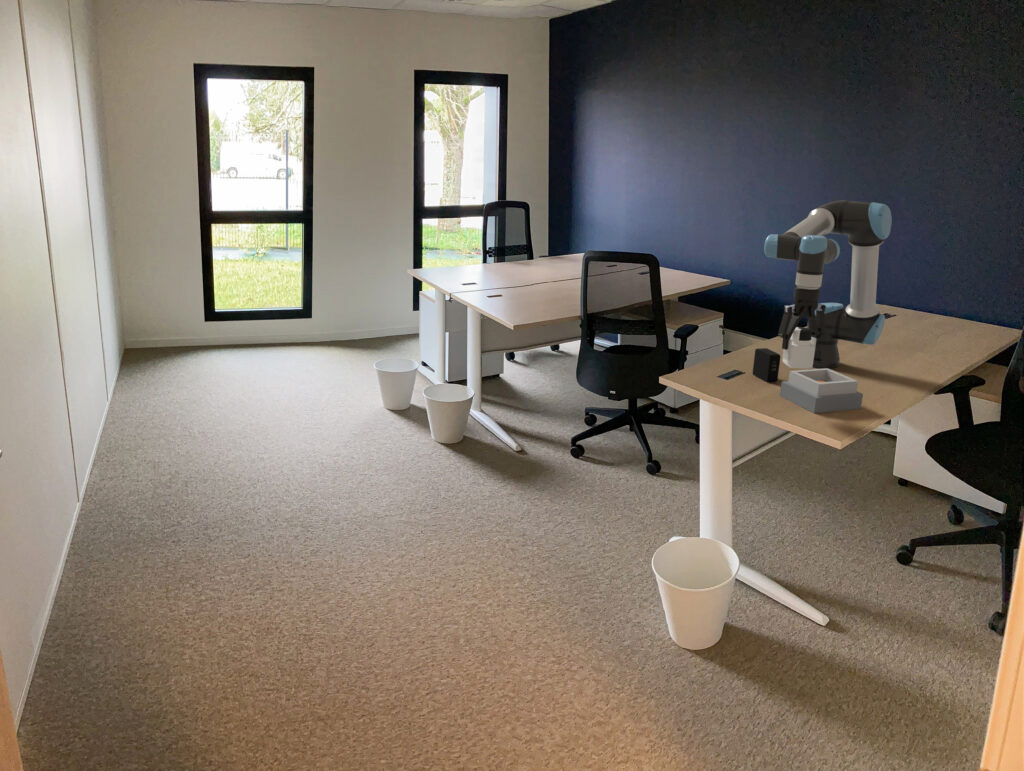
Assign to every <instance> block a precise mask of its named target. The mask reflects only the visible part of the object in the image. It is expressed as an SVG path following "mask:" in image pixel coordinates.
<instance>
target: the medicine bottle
mask: <svg viewBox="0 0 1024 771" xmlns="http://www.w3.org/2000/svg"><path fill="white" fill-rule="evenodd" d="M811 336H812V331H811V330H810V329H808V328H807V327H804V326H803V327H802V326H796V328H795V330H794V332H793V334H792V336H791V338H790V339H791V340H792V346H791V353H790V360H785V359H783V358H782V363H783V364H784V365H786V366H787V367H788V368H789V369H807V370H811V369H813V368H814V367H813V360H814V353H815V346H813V345H812V344H810V342H811Z"/></svg>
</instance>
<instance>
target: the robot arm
mask: <svg viewBox="0 0 1024 771" xmlns="http://www.w3.org/2000/svg"><path fill="white" fill-rule="evenodd" d="M892 221H893V220H892V212H891V209H890V207H889V206H888V205H886V204H884V203H878V202H874V201H873V202H867V201H857V200H855V201H853V200H844V199H843V200H835V201H831V202H828V203H824V204H822V205H820V206H818V207H816V208H814V209H813V210H811V211H810V212H809V214H808V216H807V217H806V218H804V219H803V220H801V221H800V222H799V223H798V224H796V225H794V226H793V227H791V228H790V229H788V230H787V231H785V232H784V233H782V234H778V233H776V234H771V233H770V234H769V235H768V236H767V237H766V238H765V241H764V245H763V246H764V247H763V250H764V255H765V256H766V257H767V258H771V259H772V258H773V259H775V260H786V261H794V262H797V268H796V275H795V276H796V277H795V283H794V284H795V285H796V286H795V287H794V290H793V302H792V304H790V305H787V304H786V305H784V307H783V314H782V319H781V322H780V325H779V328H778V331H777V332H778V333H777V337H779V338H782V343H781V349H782V350H783V351H782V355H781V356H782V357H781V358H782V360H783V359H785V360H790V353H791V346H792V340H791V336H792V334H793V332H794V330H795V328H796V327H798V324H799V323H800V321H801V320H802V319H803V318H806V319H807V326H806V328H808V329H810V330H811V331H812V336H811V342H810V344H812V345H813V346H815V353H814V360H813V367H812V368H818V369H825V368H828V369H832V368H833V369H835V368H837V367H839V366H840V362H841V358H840V353H839V348H838V344H839V340H840V341H845V342H852V343H857V344H861V345H870V346H873V345H875V344H876V343H878V340H879V339H880V337H881V335H882V332H883V329H884V327H885V322H886V316H885V315H884V314H883V313H880V311H881V310H880V306H879V305H878V304H877V286H878V269H879V255H880V254H879V252H880V246H881V245H882V244H884V242H885V239H887V238H888V237H889V236H890V233H891V231H892V228H891V227H892ZM829 234H835V235H843V236H847V241H848V244H850V245H851V246H852V249H851V250H852V252H851V275H850V276H851V277H850V278H851V279H850V299H849V302H850V303H849V304H848V305H847V306H846V307H845V308H844V304H843V303H839V302H819V303H818V301H819V300H820V297H821V296H820V295H821V289H820V288H821V287H822V284H823V283H822V282H823V274H824V266H825V265H828V264H830V263H833V262H835V261H836V260H837V259H838V258H839V256H840V253H841V247H840V245H839V243H838V241H836V240H834V239H832V238H827V237H826V235H829Z"/></svg>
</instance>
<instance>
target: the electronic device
mask: <svg viewBox="0 0 1024 771" xmlns="http://www.w3.org/2000/svg"><path fill="white" fill-rule="evenodd" d="M753 356H754V357H753V367H752V375H753V376H755V378H758V379H759V380H762V381H763V382H765V383H772V382H773V383H774V382H778V380H779V379H778V378H779V371H780V365H781V364H780V362H781V355H780V353H777V352H776V351H773V350H771V349H769V348H764V347H761V348H756V349H755V350H754V355H753Z"/></svg>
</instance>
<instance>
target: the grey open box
mask: <svg viewBox="0 0 1024 771" xmlns="http://www.w3.org/2000/svg"><path fill="white" fill-rule="evenodd" d="M817 381H825V382H821V383H820V382H817ZM858 384H859V380H856V379H854V378H851V377H849V376H847V375H845V374H842V373H840V372H837V371H835V370H833V369H831V368H814V369H813V368H812V369H799V370H789V375H788V380H785V381H781V385H780V390H779V391H780V392H779V396H780V397H782V398H783V399H785V400H788V401H790V402H791V403H793V404H795V405H797V406H799V407H801V408H803V409H805V410H807V411H809V412H811V413H813V414H819V413H828V412H830V413H831V412H832V413H833V412H840V411H849V410H850V411H851V410H852V411H853V410H861V409H862V403H863V399H864V398H863V397H864V393H862V392H859V391H857V389H858Z"/></svg>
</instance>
